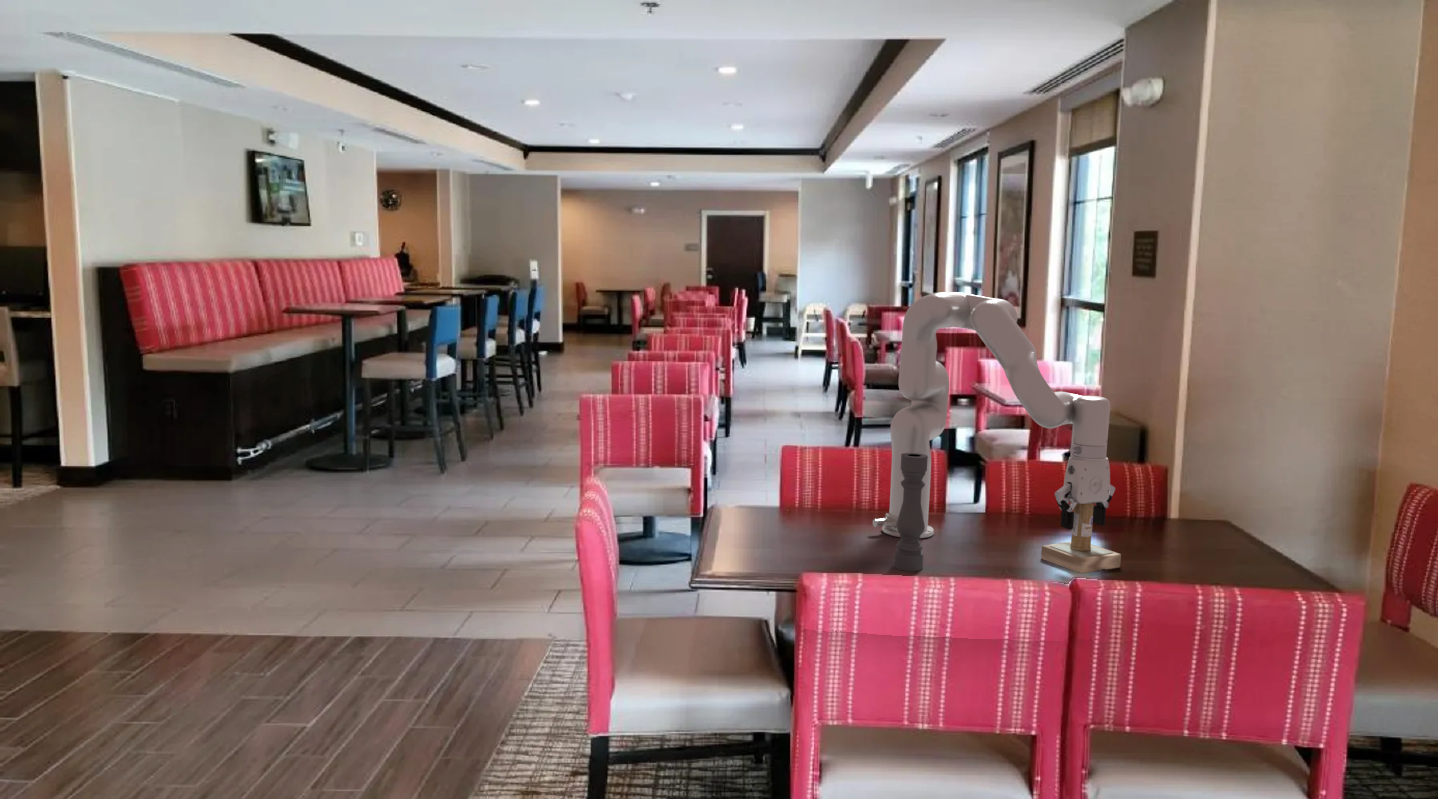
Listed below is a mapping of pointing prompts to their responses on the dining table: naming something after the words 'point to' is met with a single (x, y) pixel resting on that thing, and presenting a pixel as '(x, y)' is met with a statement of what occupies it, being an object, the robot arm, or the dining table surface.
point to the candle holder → (911, 513)
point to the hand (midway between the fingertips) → (1082, 526)
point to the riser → (1080, 557)
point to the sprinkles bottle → (1082, 527)
